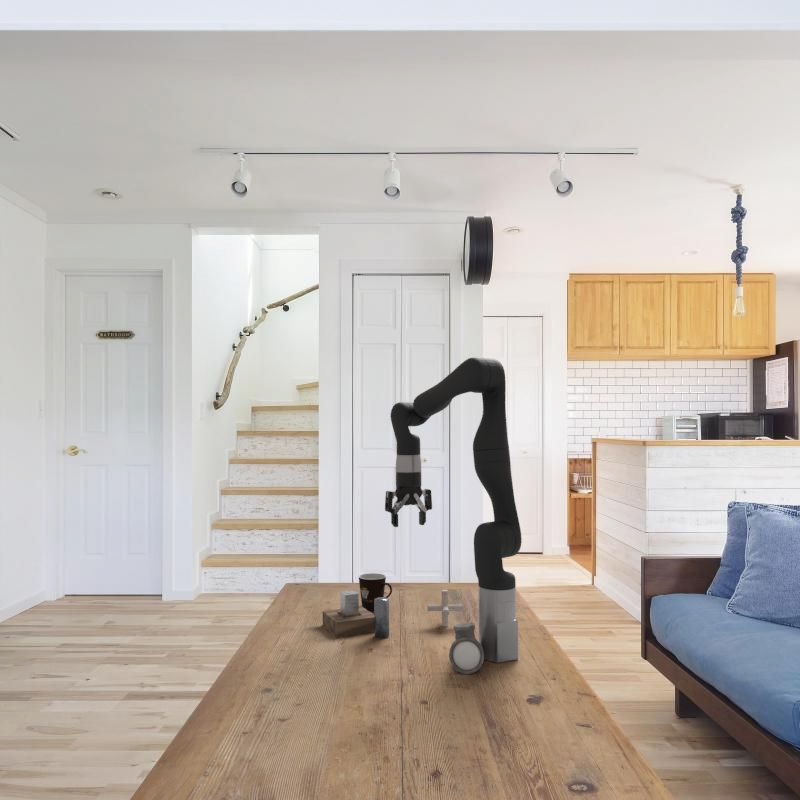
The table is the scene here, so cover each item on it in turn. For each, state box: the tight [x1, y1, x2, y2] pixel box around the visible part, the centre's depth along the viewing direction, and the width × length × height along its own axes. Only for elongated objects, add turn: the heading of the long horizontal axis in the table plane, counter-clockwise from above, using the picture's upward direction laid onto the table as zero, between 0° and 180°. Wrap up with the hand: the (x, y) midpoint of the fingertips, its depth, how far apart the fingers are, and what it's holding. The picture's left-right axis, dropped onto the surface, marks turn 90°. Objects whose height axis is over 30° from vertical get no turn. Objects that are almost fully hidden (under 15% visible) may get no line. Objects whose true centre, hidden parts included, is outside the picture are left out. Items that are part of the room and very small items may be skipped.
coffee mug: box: [358, 572, 393, 612], centre depth 203 cm, size 12×9×10 cm
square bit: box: [340, 590, 360, 618], centre depth 185 cm, size 4×4×10 cm
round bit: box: [373, 596, 390, 640], centre depth 178 cm, size 4×4×10 cm
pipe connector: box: [427, 589, 464, 628], centre depth 187 cm, size 10×10×10 cm
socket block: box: [322, 605, 375, 638], centre depth 185 cm, size 12×12×4 cm
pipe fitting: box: [448, 622, 485, 675], centre depth 156 cm, size 12×8×10 cm
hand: (408, 525), depth 190 cm, fingers open, 8 cm apart
